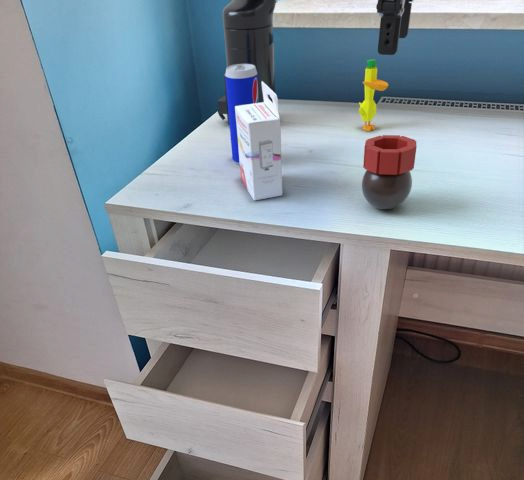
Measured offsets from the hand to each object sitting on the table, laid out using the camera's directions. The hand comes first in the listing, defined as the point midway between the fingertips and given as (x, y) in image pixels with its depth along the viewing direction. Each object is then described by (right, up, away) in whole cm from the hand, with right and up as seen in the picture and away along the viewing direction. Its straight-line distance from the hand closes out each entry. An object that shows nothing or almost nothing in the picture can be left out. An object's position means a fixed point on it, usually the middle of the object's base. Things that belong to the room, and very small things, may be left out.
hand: (393, 45), depth 64 cm
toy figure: (+5, +5, +37) cm, 38 cm away
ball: (+2, -16, +13) cm, 21 cm away
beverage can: (-19, -4, +28) cm, 34 cm away
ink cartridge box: (-16, -12, +20) cm, 28 cm away
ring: (+2, -12, +9) cm, 15 cm away
